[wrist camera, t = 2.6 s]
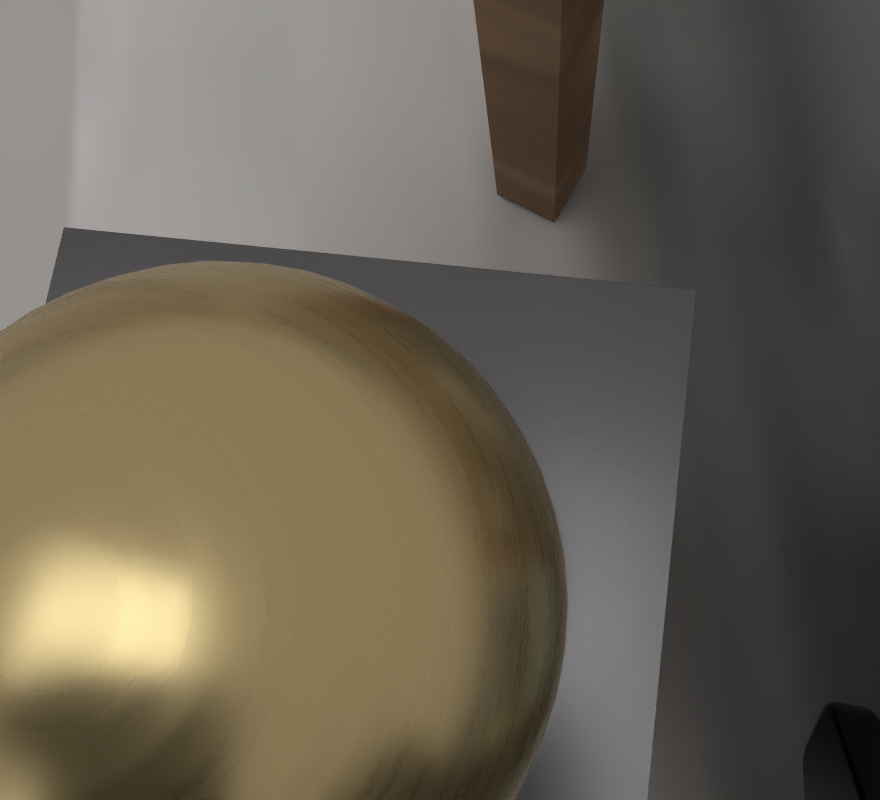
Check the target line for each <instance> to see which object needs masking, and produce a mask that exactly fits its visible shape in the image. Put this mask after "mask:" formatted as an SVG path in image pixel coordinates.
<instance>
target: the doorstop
mask: <svg viewBox="0 0 880 800" xmlns="http://www.w3.org/2000/svg"><path fill="white" fill-rule="evenodd" d="M695 298H696V290H693V289H683V288H672V287H662V286H652V285H642V284H632V283H622V282H612V281H601V280H591V279H581V278H571V277H561V276H551V275H541V274H530V273H520V272H510V271H500V270H490V269H480V268H470V267H460V266H449V265H439V264H429V263H419V262H409V261H399V260H389V259H378V258H368V257H358V256H348V255H338V254H328V253H318V252H308V251H297V250H287V249H277V248H267V247H257V246H247V245H237V244H226V243H216V242H206V241H196V240H186V239H176V238H166V237H156V236H145V235H135V234H125V233H115V232H105V231H95V230H85V229H74V228H64V230H63V234H62V238H61V242H60V246H59V250H58V255H57V259H56V263H55V267H54V271H53V275H52V279H51V284H50V288H49V292H48V296H47V300H46V304H44V305H42V306H40V307H38V308H36V309H34V310H33V311H31V312H29V313H28V314H26V315H25V316H23V317H22V318H20V319H19V320H17V321H16V322H14V323H13V324H11V325H9V326H8V327H7V328H5V329H3V330H2V331H0V800H647V797H648V786H649V776H650V766H651V755H652V745H653V735H654V724H655V714H656V703H657V693H658V683H659V672H660V662H661V651H662V641H663V631H664V620H665V610H666V600H667V589H668V579H669V568H670V558H671V548H672V537H673V527H674V516H675V506H676V496H677V485H678V475H679V465H680V454H681V444H682V433H683V423H684V413H685V402H686V392H687V381H688V371H689V361H690V350H691V340H692V329H693V319H694V309H695Z"/></svg>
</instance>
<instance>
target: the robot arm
mask: <svg viewBox="0 0 880 800" xmlns="http://www.w3.org/2000/svg"><path fill="white" fill-rule="evenodd" d="M803 779H804V795H805V800H880V719H879V718H878V716H877V715H876V714H875V713H874V712H872V711H871V710H869V709H868V708H865V707H861V706H855V705H849V704H843V703H837V702H831V703H828V704H827V705H826V706H825V707H824V708H823V710H822V712H821V714H820V716H819V719H818V721H817V723H816V725H815V727H814V729H813V732H812V734H811V736H810V738H809V740H808V742H807V745H806V747H805V751H804V757H803Z"/></svg>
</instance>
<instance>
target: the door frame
mask: <svg viewBox="0 0 880 800" xmlns="http://www.w3.org/2000/svg"><path fill="white" fill-rule="evenodd" d="M603 5H604V0H474V8H475V16H476V24H477V32H478V41H479V49H480V57H481V65H482V73H483V81H484V89H485V98H486V106H487V114H488V122H489V130H490V138H491V146H492V154H493V163H494V171H495V179H496V187H497V194H498V195H500V196H502V197H504V198H506V199H508V200H510V201H512V202H514V203H516V204H518V205H520V206H522V207H524V208H526V209H528V210H531V211H533V212H535V213H537V214H539V215H541V216H543V217H545V218H547V219H549V220H551V221H553V222H555V220H556V218H557V217H558V215H559V213H560V211H561V210H562V208H563V206H564V205H565V203H566V201H567V199H568V198H569V196H570V194H571V193H572V191H573V189H574V187H575V186H576V184H577V182H578V180H579V179H580V177H581V175H582V174H583V172H584V170H585V168H586V161H587V152H588V143H589V134H590V125H591V115H592V106H593V97H594V88H595V79H596V69H597V60H598V51H599V42H600V33H601V24H602V14H603Z"/></svg>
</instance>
